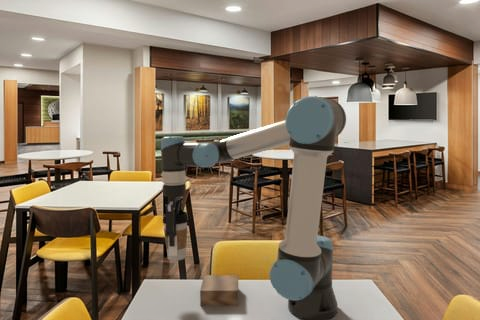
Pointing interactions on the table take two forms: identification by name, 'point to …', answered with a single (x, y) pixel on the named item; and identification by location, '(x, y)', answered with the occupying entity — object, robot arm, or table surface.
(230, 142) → the robot arm
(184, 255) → the coffee cup
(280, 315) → the table surface
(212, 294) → the walnut block
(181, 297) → the table surface
